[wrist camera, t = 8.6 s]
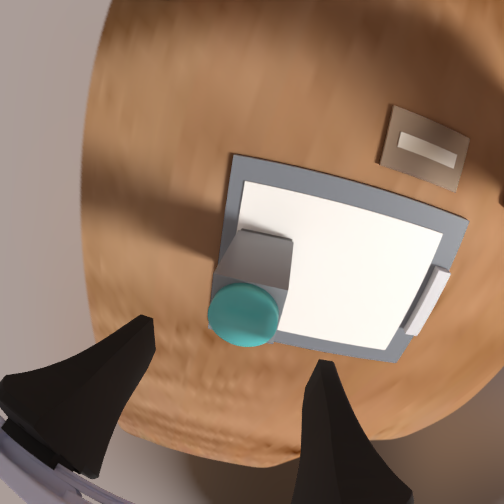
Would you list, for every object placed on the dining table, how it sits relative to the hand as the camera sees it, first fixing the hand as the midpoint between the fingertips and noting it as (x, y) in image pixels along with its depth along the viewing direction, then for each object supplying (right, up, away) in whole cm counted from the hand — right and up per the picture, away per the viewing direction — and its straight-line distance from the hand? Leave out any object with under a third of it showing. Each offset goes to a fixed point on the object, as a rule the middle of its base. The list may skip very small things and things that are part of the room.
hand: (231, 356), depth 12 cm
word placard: (+12, +11, +3) cm, 17 cm away
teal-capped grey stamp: (+2, +4, +8) cm, 9 cm away
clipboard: (+7, +3, +9) cm, 11 cm away
